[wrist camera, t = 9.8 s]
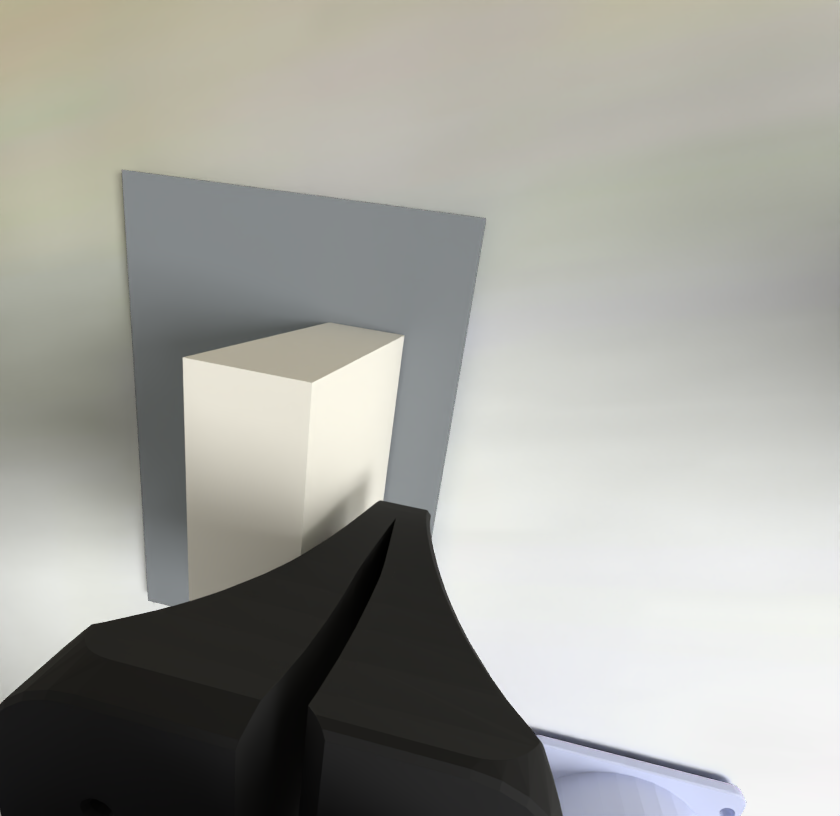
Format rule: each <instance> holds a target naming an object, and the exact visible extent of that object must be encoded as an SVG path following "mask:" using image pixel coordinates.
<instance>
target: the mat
mask: <svg viewBox="0 0 840 816" xmlns="http://www.w3.org/2000/svg"><path fill="white" fill-rule="evenodd" d="M122 181H123V197H124V213H125V230H126V246H127V263H128V279H129V295H130V312H131V328H132V344H133V361H134V377H135V393H136V410H137V426H138V443H139V459H140V475H141V492H142V508H143V524H144V541H145V557H146V573H147V590H148V601H152V602H156V603H160V604H164V605H168V606H175V605H178V604H181V603H185V602H188V601H189V578H188V540H187V502H186V464H185V426H184V388H183V357H186V356H190V355H195V354H199V353H203V352H207V351H211V350H216V349H220V348H224V347H228V346H232V345H237V344H241V343H245V342H249V341H253V340H257V339H262V338H266V337H270V336H274V335H278V334H283V333H287V332H291V331H295V330H299V329H304V328H308V327H312V326H316V325H320V324H324V323H329V322H330V323H336V324H342V325H348V326H353V327H359V328H365V329H371V330H376V331H382V332H388V333H394V334H400V335H404V343H403V350H402V358H401V366H400V374H399V382H398V389H397V397H396V405H395V413H394V421H393V428H392V436H391V444H390V452H389V459H388V467H387V475H386V483H385V491H384V498H383V501H387V502H391V503H396V504H401V505H406V506H410V507H415V508H420V509H425V510H428V512H429V513H430V514H431V519H430V532H431V538H432V532H433V526H434V521H435V515H436V509H437V503H438V497H439V491H440V486H441V480H442V474H443V468H444V462H445V456H446V451H447V445H448V439H449V433H450V427H451V421H452V416H453V410H454V404H455V398H456V392H457V386H458V381H459V375H460V369H461V363H462V357H463V351H464V346H465V340H466V334H467V328H468V322H469V316H470V311H471V305H472V299H473V293H474V287H475V281H476V276H477V270H478V264H479V258H480V252H481V246H482V241H483V235H484V229H485V223H486V218H480V217H473V216H465V215H458V214H450V213H443V212H435V211H428V210H420V209H413V208H405V207H398V206H390V205H383V204H375V203H368V202H360V201H353V200H345V199H338V198H330V197H323V196H315V195H308V194H300V193H293V192H285V191H278V190H270V189H263V188H255V187H248V186H240V185H233V184H225V183H218V182H210V181H203V180H195V179H188V178H180V177H173V176H165V175H158V174H150V173H143V172H135V171H128V170H122Z"/></svg>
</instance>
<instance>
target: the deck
mask: <svg viewBox="0 0 840 816" xmlns="http://www.w3.org/2000/svg"><path fill="white" fill-rule="evenodd" d="M403 343H404V335H400V334H394V333H388V332H382V331H376V330H371V329H365V328H359V327H353V326H348V325H342V324H336V323H330V322H329V323H324V324H320V325H316V326H312V327H308V328H304V329H299V330H295V331H291V332H287V333H283V334H278V335H274V336H270V337H266V338H262V339H257V340H253V341H249V342H245V343H241V344H237V345H232V346H228V347H224V348H220V349H216V350H211V351H207V352H203V353H199V354H195V355H190V356H186V357H183V388H184V426H185V464H186V502H187V540H188V578H189V601H192V600H195V599H198V598H201V597H204V596H207V595H210V594H213V593H217V592H219V591H222V590H225V589H227V588H230V587H232V586H235V585H237V584H240V583H243V582H245V581H248V580H250V579H253V578H255V577H258V576H260V575H263V574H265V573H267V572H269V571H271V570H273V569H275V568H277V567H279V566H282V565H284V564H286V563H288V562H290V561H291V560H293V559H295V558H297V557H299V556H301V555H302V554H304V553H306V552H307V551H309V550H310V549H312V548H314V547H315V546H317V545H318V544H320V543H322V542H323V541H325V540H326V539H328V538H329V537H331V536H332V535H334V534H335V533H336V532H338V531H339V530H341V529H342V528H343V527H345V526H346V525H348V524H349V523H350V522H352V521H353V520H354V519H356V518H357V517H358V516H360V515H361V514H362V513H363V512H365V511H366V510H367V509H368V508H370V507H371V506H372V505H374V504H375V503H376V502H378V501H380V500H382V501H383V498H384V491H385V483H386V475H387V467H388V459H389V452H390V444H391V436H392V428H393V421H394V413H395V405H396V397H397V389H398V382H399V374H400V366H401V358H402V350H403Z"/></svg>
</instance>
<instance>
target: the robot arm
mask: <svg viewBox="0 0 840 816" xmlns="http://www.w3.org/2000/svg"><path fill="white" fill-rule="evenodd" d="M430 519H431V514H430V513H429V512H428V510H425V509H420V508H415V507H410V506H406V505H401V504H396V503H391V502H387V501H382V500H380V501H378V502H376V503H375V504H374V505H372V506H371V507H370V508H368V509H367V510H366V511H365V512H363V513H362V514H361V515H360V516H358V517H357V518H356V519H354V520H353V521H352V522H350V523H349V524H348V525H346V526H345V527H343V528H342V529H341V530H339V531H338V532H336V533H335V534H334V535H332V536H331V537H329V538H328V539H326V540H325V541H323V542H322V543H320V544H318V545H317V546H315V547H314V548H312V549H310V550H309V551H307V552H306V553H304V554H302V555H301V556H299V557H297V558H295V559H293V560H291V561H290V562H288V563H286V564H284V565H282V566H279V567H277V568H275V569H273V570H271V571H269V572H267V573H265V574H263V575H260V576H258V577H255V578H253V579H250V580H248V581H245V582H243V583H240V584H237V585H235V586H232V587H230V588H227V589H225V590H222V591H219V592H217V593H213V594H210V595H207V596H204V597H201V598H198V599H195V600H192V601H188V602H185V603H181V604H178V605H175V606H171V607H167V608H164V609H160V610H156V611H152V612H147V613H143V614H139V615H134V616H130V617H125V618H121V619H116V620H112V621H108V622H103V623H98V624H92V625H91V626H89V627H88V628H87V629H86V630H84V631H83V632H82V633H81V634H79V635H78V636H77V637H76V638H75V639H73V640H72V641H71V642H70V643H69V644H67V645H66V646H65V647H64V648H63V649H62V650H60V651H59V652H58V653H57V654H56V655H55V656H54V657H52V658H51V659H50V660H49V661H48V662H47V663H46V664H45V665H43V666H42V667H41V668H40V669H39V670H38V671H37V672H35V673H34V674H33V675H32V676H31V677H30V678H29V679H27V680H26V681H25V682H24V683H23V684H22V685H21V686H19V687H18V688H17V689H16V690H15V691H14V692H13V693H11V694H10V695H9V696H8V697H7V698H6V699H5V700H4V701H3V702H2V703H1V704H0V812H1V816H741V814H742V812H743V810H744V809H745V807H746V803H747V802H746V800H745V798H744V796H743V794H742V791H741V790H740V789H739V788H738V787H737V786H735V785H732V784H729V783H726V782H722V781H718V780H714V779H710V778H706V777H702V776H698V775H694V774H690V773H687V772H683V771H679V770H675V769H671V768H667V767H663V766H659V765H655V764H651V763H648V762H644V761H640V760H636V759H632V758H628V757H624V756H620V755H616V754H612V753H608V752H605V751H601V750H597V749H593V748H589V747H585V746H581V745H577V744H573V743H569V742H566V741H562V740H558V739H554V738H550V737H546V736H542V735H535V733H534V732H533V731H532V730H531V729H530V727H529V726H528V725H527V724H526V723H525V721H524V720H523V719H522V718H521V717H520V715H519V714H518V713H517V712H516V711H515V709H514V708H513V707H512V706H511V704H510V703H509V702H508V701H507V700H506V698H505V697H504V695H503V694H502V692H501V691H500V690H499V688H498V687H497V685H496V684H495V682H494V681H493V680H492V678H491V677H490V675H489V673H488V672H487V670H486V668H485V667H484V665H483V664H482V662H481V660H480V659H479V657H478V655H477V654H476V652H475V650H474V649H473V647H472V645H471V644H470V642H469V640H468V638H467V637H466V635H465V633H464V631H463V629H462V627H461V625H460V623H459V621H458V619H457V616H456V614H455V612H454V610H453V608H452V605H451V603H450V600H449V598H448V595H447V593H446V590H445V587H444V584H443V582H442V579H441V576H440V572H439V569H438V566H437V562H436V558H435V554H434V550H433V545H432V539H431V532H430Z"/></svg>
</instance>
